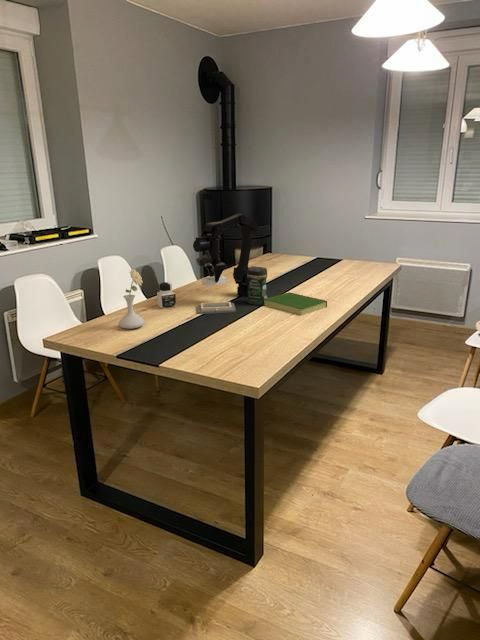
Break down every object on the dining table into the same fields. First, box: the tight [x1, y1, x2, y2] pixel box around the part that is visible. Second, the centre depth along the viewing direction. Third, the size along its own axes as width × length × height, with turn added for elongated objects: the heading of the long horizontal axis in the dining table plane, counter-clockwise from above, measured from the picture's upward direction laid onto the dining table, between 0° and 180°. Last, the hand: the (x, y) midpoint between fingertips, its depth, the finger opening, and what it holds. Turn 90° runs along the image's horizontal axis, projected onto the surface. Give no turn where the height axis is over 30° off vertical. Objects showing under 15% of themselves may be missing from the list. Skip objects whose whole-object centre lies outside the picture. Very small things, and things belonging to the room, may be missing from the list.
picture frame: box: [201, 274, 228, 287], centre depth 240 cm, size 11×6×3 cm, turn 120°
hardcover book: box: [264, 292, 328, 316], centre depth 236 cm, size 25×19×4 cm
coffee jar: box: [247, 265, 268, 306], centre depth 240 cm, size 10×8×19 cm
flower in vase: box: [117, 268, 146, 330], centre depth 208 cm, size 13×11×25 cm
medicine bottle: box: [156, 281, 177, 310], centre depth 238 cm, size 7×7×12 cm
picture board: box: [196, 301, 237, 315], centre depth 233 cm, size 18×13×2 cm
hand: (214, 280), depth 240 cm, fingers closed on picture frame, 6 cm apart
